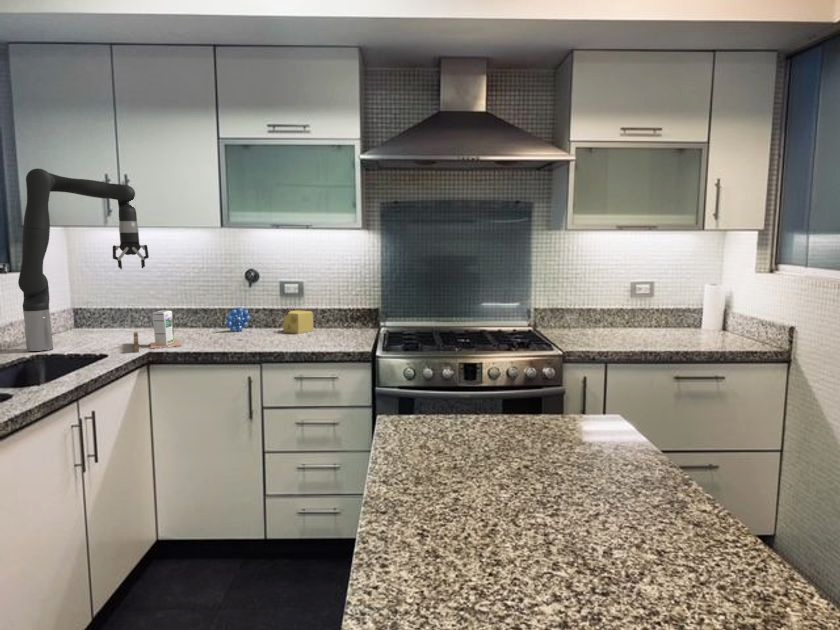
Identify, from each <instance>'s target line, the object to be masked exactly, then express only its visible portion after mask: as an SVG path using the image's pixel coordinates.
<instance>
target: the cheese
mask: <svg viewBox="0 0 840 630" xmlns="http://www.w3.org/2000/svg"><path fill="white" fill-rule="evenodd" d="M283 323H284V324H283V333H287V334H288V333H289V334H295V335H296V334H297V335H301V334H304V333H309V332H313V331H314V313H313V311H308V310H301V309H300V310H299V309H298V310H292V311H291V310H290V311H289V312H287V314H286V316H284V317H283Z"/></svg>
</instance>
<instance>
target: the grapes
mask: <svg viewBox="0 0 840 630" xmlns="http://www.w3.org/2000/svg"><path fill="white" fill-rule="evenodd" d="M225 319H226V321H227V322H226V323H225V326H226V328H229V330H230V332H235V331H237V332H241V331H242V330H243V328H244V329H245V328H247V327H248V326H249V323H248V322H249V321H250V320H251V316H250V315H249V310H248V309H244V308H243V307H237V309H233V308H232V310H231V311H230V314H228V315H227V316H226V318H225Z"/></svg>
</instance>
